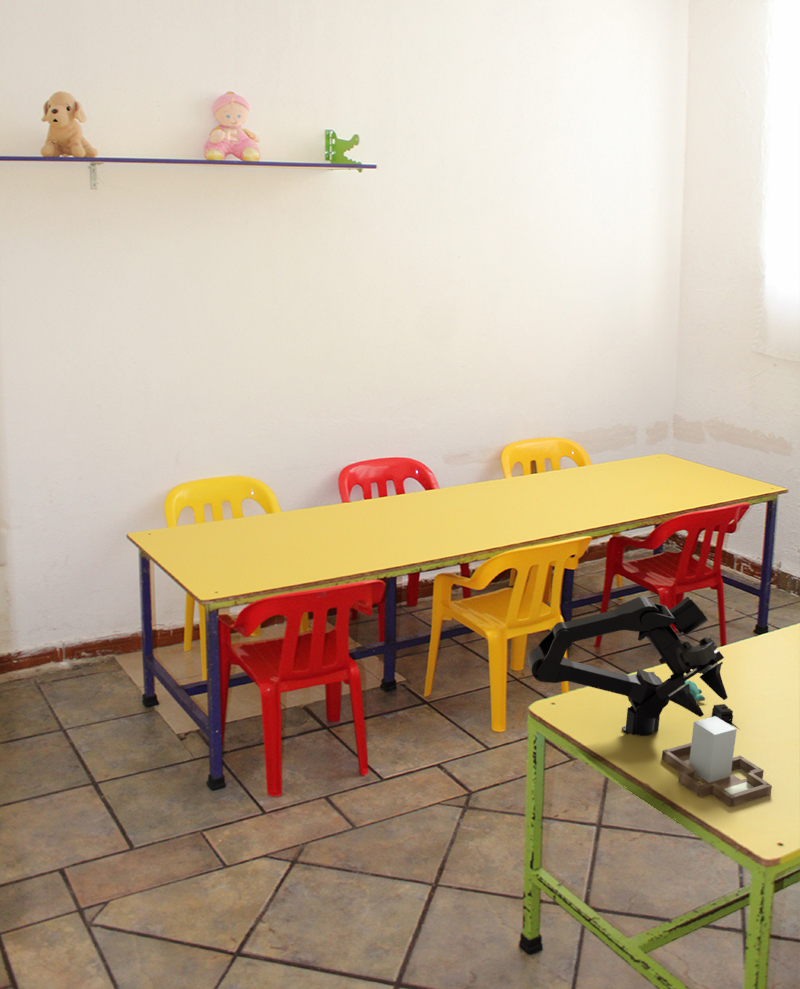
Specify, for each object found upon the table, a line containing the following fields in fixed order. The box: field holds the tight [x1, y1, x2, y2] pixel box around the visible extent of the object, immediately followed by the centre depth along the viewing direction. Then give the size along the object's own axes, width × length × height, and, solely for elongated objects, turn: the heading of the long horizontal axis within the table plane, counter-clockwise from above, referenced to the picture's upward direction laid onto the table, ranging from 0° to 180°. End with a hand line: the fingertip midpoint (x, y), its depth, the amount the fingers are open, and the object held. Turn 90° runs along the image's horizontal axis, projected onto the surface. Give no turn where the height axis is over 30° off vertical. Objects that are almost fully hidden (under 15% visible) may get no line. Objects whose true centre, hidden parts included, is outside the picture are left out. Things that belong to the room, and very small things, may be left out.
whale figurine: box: [684, 680, 706, 703], centre depth 242 cm, size 6×7×4 cm
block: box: [689, 716, 738, 783], centre depth 205 cm, size 6×6×11 cm
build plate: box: [711, 703, 741, 731], centre depth 229 cm, size 12×7×5 cm, turn 13°
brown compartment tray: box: [661, 742, 773, 808], centre depth 205 cm, size 20×17×3 cm
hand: (714, 707), depth 212 cm, fingers open, 9 cm apart
